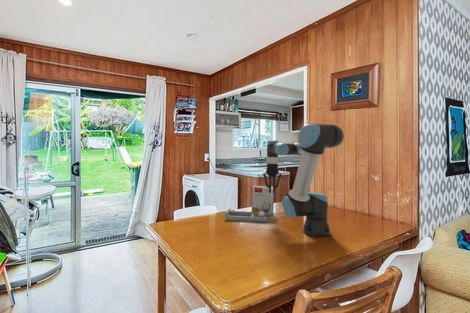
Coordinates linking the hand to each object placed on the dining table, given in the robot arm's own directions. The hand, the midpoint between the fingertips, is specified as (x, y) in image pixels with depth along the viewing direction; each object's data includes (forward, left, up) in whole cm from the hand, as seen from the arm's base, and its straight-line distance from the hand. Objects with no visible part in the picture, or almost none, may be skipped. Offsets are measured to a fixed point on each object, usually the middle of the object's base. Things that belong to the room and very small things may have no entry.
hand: (271, 197), depth 174 cm
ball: (+7, 0, -11) cm, 13 cm away
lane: (+17, 0, -15) cm, 23 cm away
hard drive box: (+7, -17, -15) cm, 24 cm away
